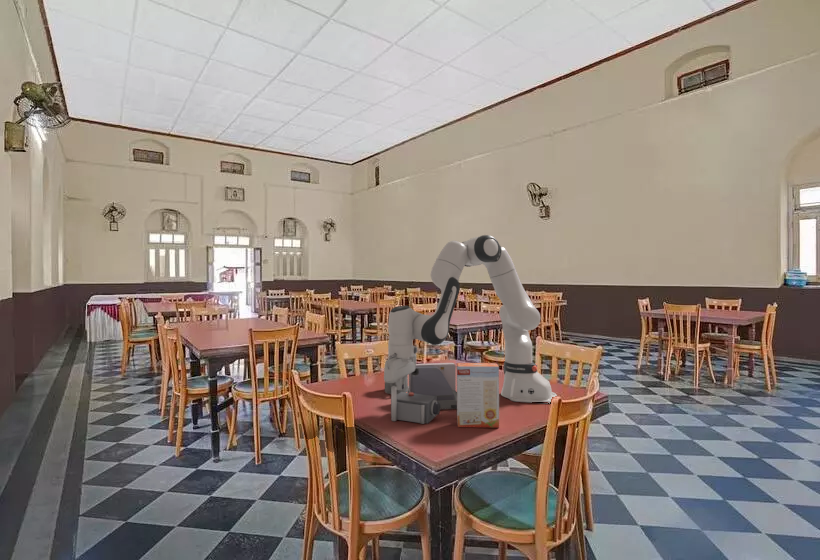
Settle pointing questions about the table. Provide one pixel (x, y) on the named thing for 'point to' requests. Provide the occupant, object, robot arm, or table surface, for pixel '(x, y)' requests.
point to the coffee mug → (389, 385)
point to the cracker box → (478, 395)
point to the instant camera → (435, 383)
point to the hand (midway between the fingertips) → (400, 389)
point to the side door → (405, 409)
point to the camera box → (422, 403)
